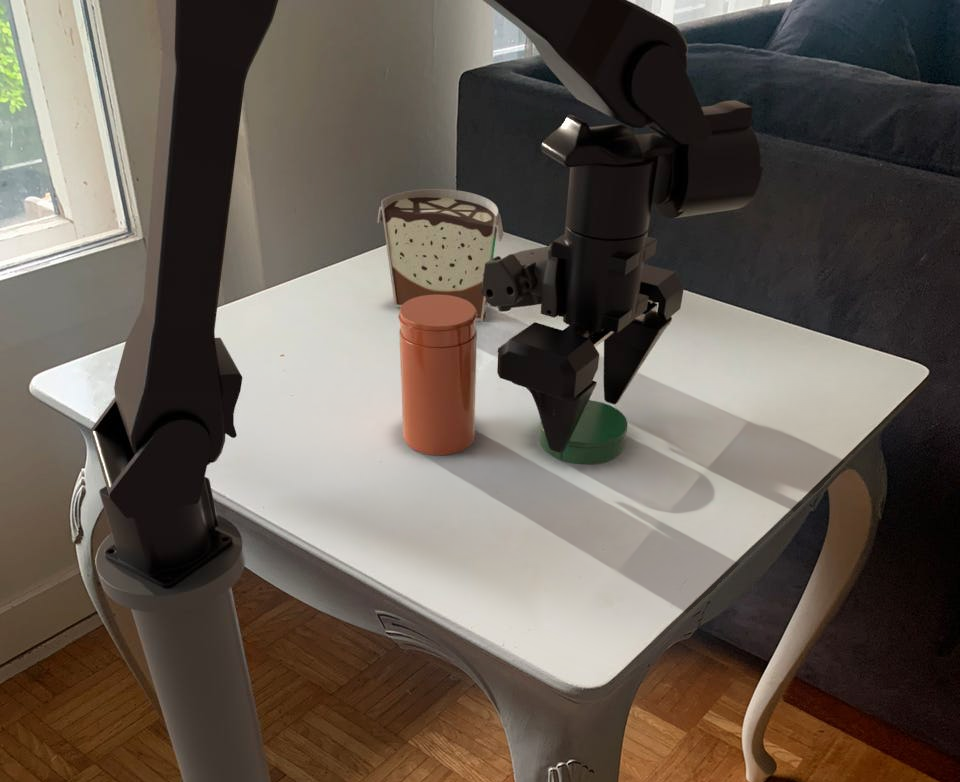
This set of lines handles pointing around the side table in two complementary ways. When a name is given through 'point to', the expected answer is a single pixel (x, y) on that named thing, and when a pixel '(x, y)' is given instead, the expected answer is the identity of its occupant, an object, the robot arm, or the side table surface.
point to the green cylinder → (593, 436)
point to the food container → (439, 243)
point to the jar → (438, 373)
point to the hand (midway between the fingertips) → (584, 425)
